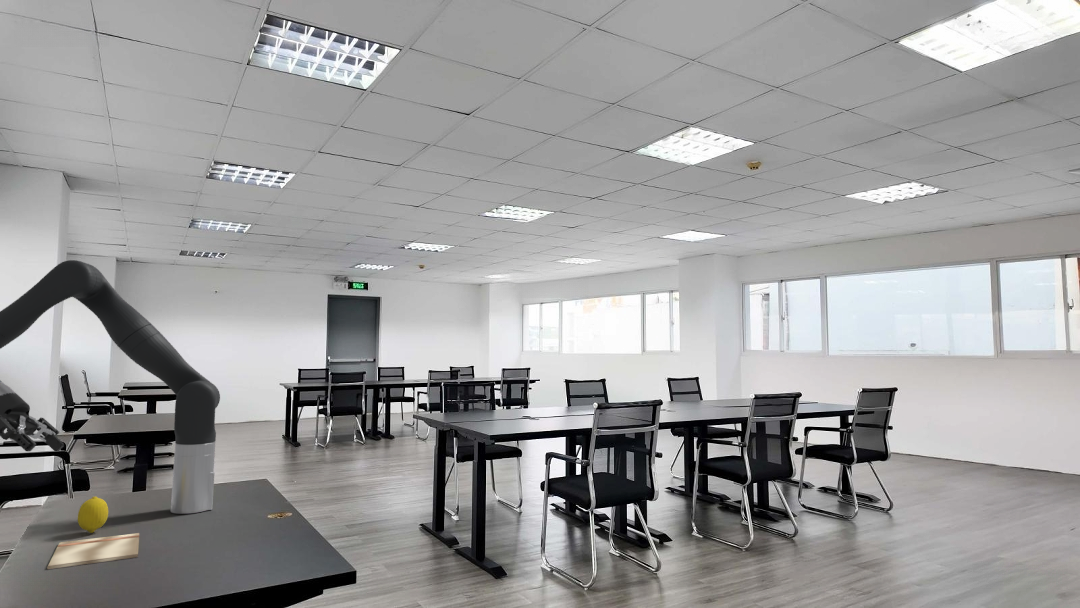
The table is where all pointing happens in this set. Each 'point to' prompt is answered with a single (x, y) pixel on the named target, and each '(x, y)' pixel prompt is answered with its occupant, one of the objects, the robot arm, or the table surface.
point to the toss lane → (95, 550)
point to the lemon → (92, 514)
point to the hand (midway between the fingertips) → (46, 448)
